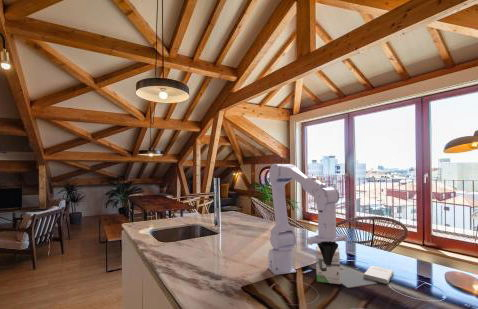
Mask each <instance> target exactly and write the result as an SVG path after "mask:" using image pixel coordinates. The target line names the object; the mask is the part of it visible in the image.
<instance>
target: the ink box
mask: <svg viewBox="0 0 478 309" xmlns="http://www.w3.org/2000/svg"><path fill="white" fill-rule="evenodd" d="M315 261H316V262H315V264H316V265H315V266H316V269H315V270H316V282H317V283H327V284H328V283H329V284H336V285H342V284H341V275H340V270H341V257H340V248H339V247H338V248H337V249H336V251H335V253H334V256H333V259H332V263H331V265H326V264H324V260H323V256H322V253H321V251H320V249H319V247H318V245H316V246H315Z"/></svg>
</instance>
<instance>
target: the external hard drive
mask: <svg viewBox="0 0 478 309" xmlns="http://www.w3.org/2000/svg"><path fill="white" fill-rule="evenodd" d="M362 275H363V277H364V278H366V279H369V280H373V281H374V282H376V283H382V284H388V283H389V282H390V280H391V278H392V277H393V275H394V270H393V269H391V268H390V269H389V268H386V267H382V266H381V267H380V266H376V265H370V266H369V267H368V269H366V271H365V272H364V273H362Z"/></svg>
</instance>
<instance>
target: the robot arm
mask: <svg viewBox="0 0 478 309" xmlns="http://www.w3.org/2000/svg"><path fill="white" fill-rule="evenodd" d="M268 174H269V180H270V181H269V183H270V184H271V193H272V202H273V210H274V212H273V213H274V220H275V221H274V222H275V225H274V226H273V227H271V229H270V237H269V243H270V245H271V247H272V248H271V249H269V250H268V253H267V254H268V259H267V260H268V266H267V269H268V270H270V271H271V272H272V273H273V275H277V276H278V275H285V274H292V273H297V270H296V269H295V268H293V249H294V246H295V245H296V243H297V236H296V234H295V232H294V231H295V230H294V227H292V226H291V225H290V224H289V218H288V210H287V201H286V192H285V187H286V184H288V183H289V182H290V181H292V180H294V181H296V182H297V183H299V184H300V185H301V186H302V190H304V191H305V192H306V193H307V194H309V195H311V196H312V197H313V200H314V202H315V205H316V207H315V208H317V224H318V225H317V228H318V230H317V231H318V232H317V233H318V234H316V235H313V236H307V237H306V244H307V245H309V246H312V245H315V244H316V246H318V247H319V249H320V251H321V253H322V256H323V260H324V264H326V265H331V263H332V259H333V256H334V253H335V251H336V249H337V248H339V243H337V242H348V235H347V234H344V233H341V234H339V233H338V234H337V209H336V208H337V207H336V206H337V205H336V204H338V202H339V200H340V193H339V191H338V189H337V188H335V186H327V185H326V183H324V182H323V183H322V182H321V181H320V180H318V178H317V177H316V176H307V175H305V174H304V173H303V172H302V171H300V170H299V168H298V167H297V165H294V164H293V163H281V164H280V163H273V164H271V166H270V169H269V170H268Z"/></svg>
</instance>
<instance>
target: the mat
mask: <svg viewBox="0 0 478 309" xmlns="http://www.w3.org/2000/svg"><path fill="white" fill-rule="evenodd" d="M340 275H341V284H340V285H343V287H346V288H347V289H351V288H358V287H365V286H371V285H377V284H378V282H377V281H373V280H369V279H366V278H364V277H363V273H360V272H358V271H357V270H355V269H353V268H345V269H340Z"/></svg>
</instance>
